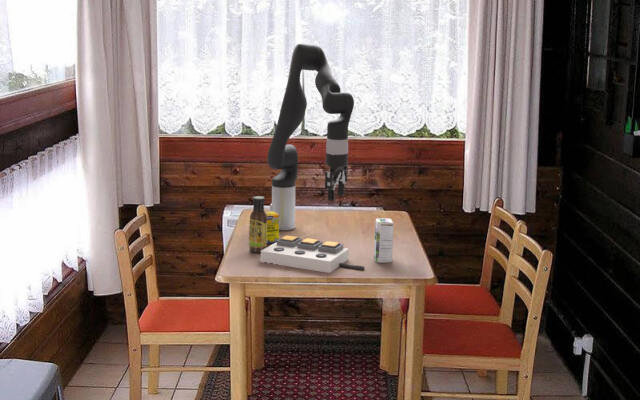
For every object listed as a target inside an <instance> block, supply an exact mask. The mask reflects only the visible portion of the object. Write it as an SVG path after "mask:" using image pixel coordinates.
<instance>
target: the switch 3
mask: <svg viewBox="0 0 640 400" xmlns="http://www.w3.org/2000/svg"><path fill="white" fill-rule="evenodd" d="M323 243H324V244H323ZM323 243H322V247H327V248H334V249H335V248H337V247H338V246H340V244H341V243H340V242H337V241H325V242H323Z"/></svg>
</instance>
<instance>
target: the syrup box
mask: <svg viewBox="0 0 640 400" xmlns="http://www.w3.org/2000/svg"><path fill="white" fill-rule="evenodd" d="M394 224H395V223H394V222H393V220H392V219H391V218H386V217H385V218H383V217H380V218H375V226H374V228H375V229H374V245H373V250H374V251H373V259H374V261H375V263H377V264H378V263H382V264H383V263H392V262H393V248H394V247H393V243H394V241H393V240H394Z"/></svg>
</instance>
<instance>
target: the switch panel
mask: <svg viewBox="0 0 640 400" xmlns="http://www.w3.org/2000/svg"><path fill="white" fill-rule="evenodd" d="M285 236H286V235H284V236H283V237H285ZM283 237H281V238H283ZM281 238H279V240H277V242H276V243H271V244H270V245H269V246H266V248H265V249H263V250H261V253H260V262H261V261H262V262H261V263H264V262H267V263H266V264H270V263H273V264H272V265H276V264H278V265H277V266H283V267H284V266H285V267H291V268H296V269H302V270H309V271H316V272H320V273H326V274H327V273H328V274H331V273H332V272H333V271H335V270H336V269H337V268H339V267H341V268H347V269H354V270H361V271H364V270H366V269H365V268H366V267H365V266H364V265H363V266H362V265H357V264H350V263H346V262H348V261H349V248H346V247H345V248H344V244H343V243H340V246H338V247H337V248H335V249H334V248H327V247H322V244H324V243H325V242H323V241H322V240H319V243H317V244H316V245H314V246H313V245H306V244H301V241H303V240H305V239H306V238H304V239H303V238H302V237H298V240H297V241H295V242H286V241H280V239H281Z"/></svg>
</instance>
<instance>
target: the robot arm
mask: <svg viewBox="0 0 640 400" xmlns="http://www.w3.org/2000/svg"><path fill="white" fill-rule="evenodd" d="M289 65H290V66H289V71H288V77H287V84H286V87H285V91H284V95H283V98H282V102H281V107H280V111H279V116H278V120H277V124H276V128H275V131H274V134H273V136H272V139H271V143H270V144H269V148H268V152H267V157H266V158H267V164H268V167H270V169H272V170H281V171H280V172H279V173H278V174H277V175H275V176H274V177H272V178H271V203H270V204H269V212H271V211H273V212H275V213H277V214H279V231H291V230H294V229H295V228H296V182H297V179H298V168H299V167H298V165H299V154H298V151H297V148H296V146H294V145H293V144H287V143H288V141H289V139H290V137H291V136H292V135H293V134H294V133H295V131H296V130H297V129H298V128H299V126H300V125H301V124H302V122H303V120H304V118H305V114H306V110H307V106H308V101H307V96H306V94H305V92H304V89H303V87H302V83H301V73H302V71H315V72H317V73H316V75H315V79H314V83H315V84H314V85H315V87H316V90H317V92H319V94H320V96H321V103H322V104H321V105H322V109H323V111H324V112H325V113H327V114H328V115H336V114H337V115H338V114H339V116H338V118H336V119H333V120H330V121H329V122H328V123H327V127H326V129H327V132H326V143H325V144H326V145H325V164H326V166H327V167H329V171H327V170H326V171H325V173H324V174H325V175H324V189H325V190H327V200H328V201H329V202H333V201H335V200H336V199H335V196H336V195H335V194H336V193H335V192H336V191H335V189H336V187H337V195H338V196H341V197H343V196H345V185H346V183H347V182H348V174H349V173H348V169H349V168H348V165H349V140H348V139H349V124H350V121H351V117H352V114H353V111H354V107H355V100H354V97H353V95H352V94H351V93H350V92H342V91H341V89H342V88H341V87H340V85H339V83H338V81H337V79H335V77H334V76H333V74H332V71H331V68H330V64H329V62H328V58H327V56H326V53H325V51H324V49H323V48H322V47H321V46H320V45H316V44H307V43H297V44H296V45H295V46H294V48H293V51H292V54H291V59H290V64H289Z"/></svg>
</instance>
